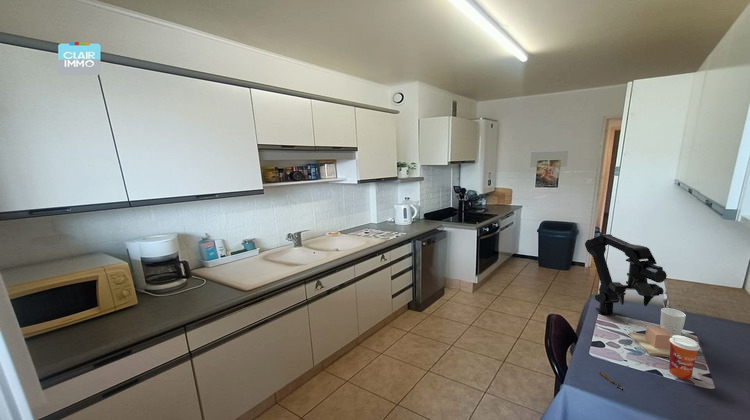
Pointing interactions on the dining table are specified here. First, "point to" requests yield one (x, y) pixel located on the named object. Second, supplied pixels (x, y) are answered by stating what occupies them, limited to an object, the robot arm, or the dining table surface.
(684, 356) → the paper cup
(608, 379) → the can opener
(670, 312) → the white cup
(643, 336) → the birch board
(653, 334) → the terracotta cube
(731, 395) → the dining table surface
